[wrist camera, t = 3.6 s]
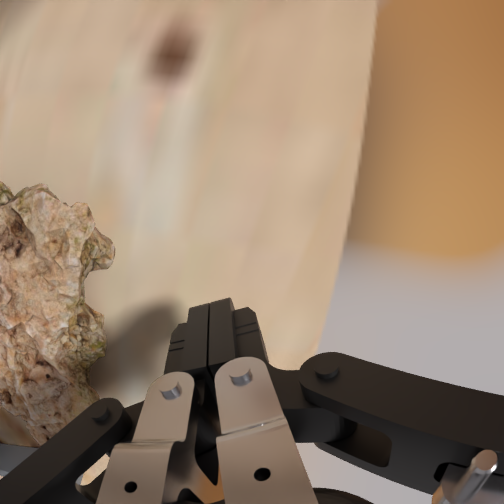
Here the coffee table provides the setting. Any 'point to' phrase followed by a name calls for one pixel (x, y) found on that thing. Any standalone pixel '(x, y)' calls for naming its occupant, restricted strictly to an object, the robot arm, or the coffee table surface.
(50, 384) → the rock
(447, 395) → the robot arm
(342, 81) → the coffee table surface
